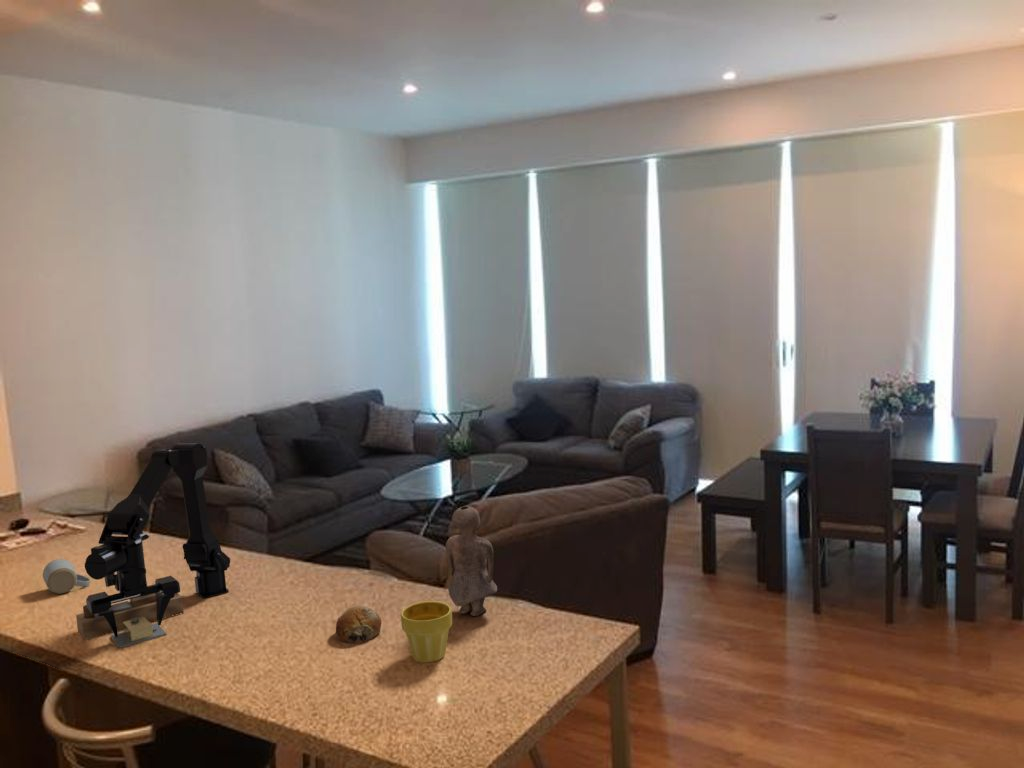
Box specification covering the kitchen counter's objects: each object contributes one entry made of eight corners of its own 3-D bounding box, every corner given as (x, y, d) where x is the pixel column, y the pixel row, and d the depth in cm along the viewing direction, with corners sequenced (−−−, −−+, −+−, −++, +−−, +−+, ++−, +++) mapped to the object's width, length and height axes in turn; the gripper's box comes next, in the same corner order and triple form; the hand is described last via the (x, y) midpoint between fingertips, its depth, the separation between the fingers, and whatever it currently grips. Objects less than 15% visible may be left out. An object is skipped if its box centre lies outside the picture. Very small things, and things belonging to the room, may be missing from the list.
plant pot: (434, 671, 169) (430, 623, 168) (393, 661, 175) (390, 615, 174) (464, 650, 178) (461, 605, 177) (424, 641, 183) (421, 597, 182)
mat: (156, 624, 200) (156, 623, 200) (166, 634, 194) (166, 633, 194) (110, 637, 194) (110, 635, 194) (119, 648, 188) (119, 646, 188)
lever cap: (153, 635, 193) (151, 622, 192) (131, 641, 190) (130, 628, 190) (144, 626, 198) (143, 613, 198) (123, 632, 196) (122, 619, 195)
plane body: (175, 605, 212) (173, 580, 211) (183, 613, 207) (180, 587, 206) (78, 631, 199) (74, 604, 198) (83, 639, 193) (80, 612, 193)
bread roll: (387, 645, 191) (391, 608, 193) (365, 644, 182) (370, 605, 184) (347, 641, 194) (353, 605, 197) (324, 640, 185) (330, 602, 187)
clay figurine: (507, 608, 199) (502, 504, 196) (485, 624, 191) (479, 515, 188) (460, 601, 206) (454, 499, 203) (437, 616, 197) (430, 510, 194)
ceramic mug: (48, 598, 222) (45, 569, 221) (44, 589, 229) (41, 561, 228) (93, 588, 228) (90, 560, 227) (87, 580, 235) (85, 553, 234)
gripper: (163, 546, 204) (170, 609, 206) (77, 565, 193) (85, 631, 195) (177, 557, 195) (184, 622, 197) (88, 577, 184) (96, 647, 186)
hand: (137, 630), depth 194 cm, fingers open, 9 cm apart
